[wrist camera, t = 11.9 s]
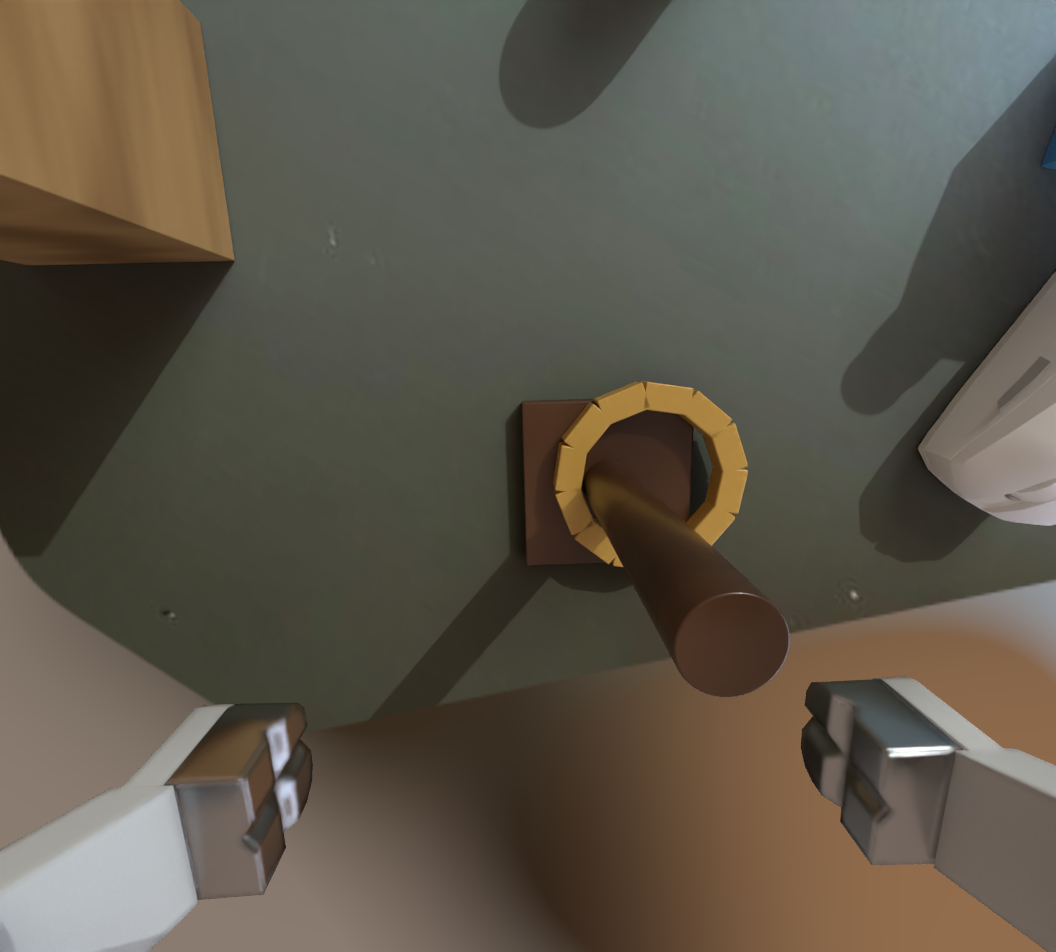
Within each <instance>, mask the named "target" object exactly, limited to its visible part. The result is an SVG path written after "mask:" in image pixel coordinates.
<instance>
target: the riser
mask: <svg viewBox="0 0 1056 952" xmlns="http://www.w3.org/2000/svg"><path fill="white" fill-rule="evenodd" d="M0 260H4V261H9V262H14V263H19V264H24V265H70V264H114V263H158V262H202V261H234V253H233V246H232V239H231V232H230V225H229V218H228V211H227V204H226V197H225V191H224V184H223V177H222V170H221V163H220V156H219V149H218V142H217V135H216V128H215V121H214V114H213V108H212V101H211V94H210V87H209V80H208V73H207V66H206V59H205V52H204V45H203V38H202V31H201V25H200V22H199V21H198V20H197V19H196V18H195V17H194V16H193V14H192V13H191V12H190V11H189V10H188V9H187V8H186V7H185V6H184V5H183V4H182V3H181V1H180V0H0Z"/></svg>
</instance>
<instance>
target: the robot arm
mask: <svg viewBox="0 0 1056 952" xmlns="http://www.w3.org/2000/svg"><path fill="white" fill-rule="evenodd" d="M805 706H806V707H807V709H808V710H809V712H810V713H811V714H812V716H813V717H812V718H811V719H810V720H809V722H808V723H807V724H806V725H805V726H804V728H803V729H802V739H801V750H802V755H803V759H804V763H805V767H806V769H807V772H808V774H809V776H810V778H811V780H812V782H813V783H814V785H815V786H816V788H817V789H818V791H819V792H820V794H821V795H822V796H824V797H825V798H827V799H828V800H830V801H832V802H833V803H834V804H836V805H838V806H839V807H841V819H840V822H841V823H842V824H843V826H844V827H845V829H846V830H847V832H848V833H849V834H850V836H851V837H852V838H853V840H854V841H855V842H856V844H857V845H858V847H859V848H860V849H861V851H862V852H863V854H864V855H865V857H866V858H867V859H868V861H869V862H870V863H871V865H894V864H895V865H896V864H934V868H935V869H937V870H938V871H939V872H941V873H942V874H943V875H945V876H946V877H947V878H949V879H950V880H951V881H953V882H954V883H956V884H957V885H958V886H959V887H961V888H962V889H964V890H965V891H966V892H968V893H969V894H970V895H972V896H973V897H974V898H976V899H977V900H978V901H980V902H981V903H982V904H984V905H985V906H986V907H988V908H989V909H990V910H992V911H993V912H994V913H996V914H997V915H999V916H1000V917H1001V918H1003V919H1004V920H1005V921H1007V922H1008V923H1009V924H1011V925H1012V926H1013V927H1015V928H1016V929H1017V930H1019V931H1020V932H1021V933H1023V934H1024V935H1026V936H1027V937H1028V938H1030V939H1031V940H1032V941H1034V942H1035V943H1036V944H1038V945H1039V946H1040V947H1042V948H1043V949H1044V950H1046V951H1047V952H1056V766H1055V765H1053V764H1050V763H1048V762H1045V761H1043V760H1041V759H1038V758H1036V757H1033V756H1031V755H1029V754H1027V753H1024V752H1022V751H1019V750H1017V749H1014V748H1013V749H1003V748H1002V747H1001V746H999V745H998V744H997V743H996V742H994V741H993V740H992V739H990V738H989V737H988V736H987V735H985V734H984V733H983V732H981V731H980V730H979V729H977V728H976V727H975V726H974V725H973V724H971V723H970V722H968V721H967V720H966V719H965V718H964V717H962V716H961V715H960V714H959V713H957V712H956V711H955V710H953V709H952V708H950V706H948V705H947V704H946V703H944V702H943V701H942V700H941V699H939V698H938V697H937V696H936V695H934V694H933V693H932V692H930V691H929V690H928V689H927V688H925V687H924V686H923V685H921V684H920V683H919V682H918V681H916V680H914V679H911V678H908V677H905V676H900V677H886V678H873V679H872V680H853V681H833V682H812V683H811V684H810V686H809V687H808V689H807V691H806V699H805ZM306 727H307V721H306V715H305V710H304V707H303V706H302V705H300V704H299V703H257V704H235V705H233V704H220V705H204V706H201V707H198V708H196V709H194V710H193V711H192V713H191V714H190V715H189V716H188V717H187V718H186V719H185V720H184V721H183V722H182V723H181V724H180V725H179V727H178V728H177V729H176V730H175V731H174V732H173V733H172V734H171V735H170V736H169V737H168V738H167V739H166V740H165V742H164V743H163V744H162V745H161V746H160V747H159V748H158V749H157V750H156V751H155V752H154V753H153V755H151V757H150V758H149V759H148V760H147V761H146V762H145V763H144V764H143V765H142V766H141V767H140V768H139V769H138V771H137V772H136V773H135V774H134V775H133V776H132V777H131V778H130V779H129V780H128V781H127V782H126V783H125V785H124V786H123V787H122V788H110V789H108V790H106V791H104V792H102V793H101V794H99V795H97V796H95V797H93V798H92V799H90V800H88V801H86V802H84V803H83V804H81V805H79V806H77V807H76V808H74V809H72V810H70V811H68V812H67V813H65V814H63V815H61V816H60V817H58V818H56V819H54V820H52V821H51V822H49V823H47V824H45V825H44V826H42V827H40V828H38V829H37V830H35V831H33V832H31V833H29V834H28V835H26V836H24V837H22V838H20V839H19V840H17V841H15V842H13V843H11V844H10V845H8V846H6V847H5V848H2V849H1V850H0V952H149V951H150V950H151V949H152V948H153V947H154V946H155V945H156V944H157V943H158V942H159V941H160V940H161V939H162V938H163V937H164V936H166V934H168V933H169V932H170V931H171V930H172V929H173V928H174V927H175V926H176V925H177V924H178V923H179V922H180V921H181V920H182V919H183V918H184V917H185V916H186V915H187V914H188V913H189V912H190V911H191V910H192V909H194V907H196V906H197V905H198V900H202V899H214V898H226V897H239V896H251V895H263V894H264V892H265V890H266V888H267V886H268V884H269V882H270V880H271V878H272V875H273V873H274V871H275V869H276V867H277V865H278V863H279V861H280V858H281V856H282V854H283V852H284V850H285V848H286V845H285V839H284V831H286V830H287V829H288V828H289V827H290V826H291V825H293V824H294V823H295V822H296V821H298V820H299V818H300V816H301V814H302V811H303V809H304V807H305V805H306V803H307V800H308V795H309V791H310V787H311V782H312V767H313V763H312V755H311V750H310V749H309V748H308V747H307V746H306V745H305V744H304V743H303V742H302V741H301V740H300V738H301V736H302V735H303V733H304V731H305V729H306Z"/></svg>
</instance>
